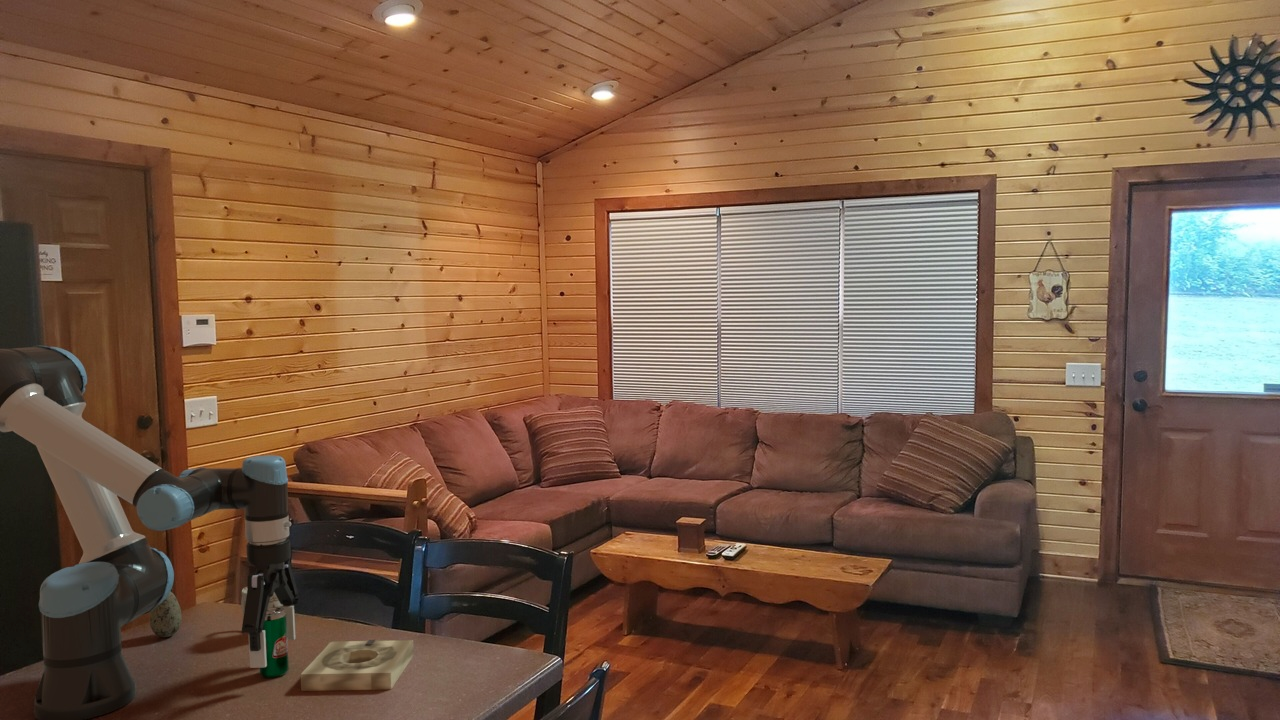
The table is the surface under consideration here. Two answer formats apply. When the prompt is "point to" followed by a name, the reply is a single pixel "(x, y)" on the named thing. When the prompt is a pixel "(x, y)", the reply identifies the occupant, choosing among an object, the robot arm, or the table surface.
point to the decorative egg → (166, 617)
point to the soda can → (275, 643)
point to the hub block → (358, 665)
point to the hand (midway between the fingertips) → (273, 652)
